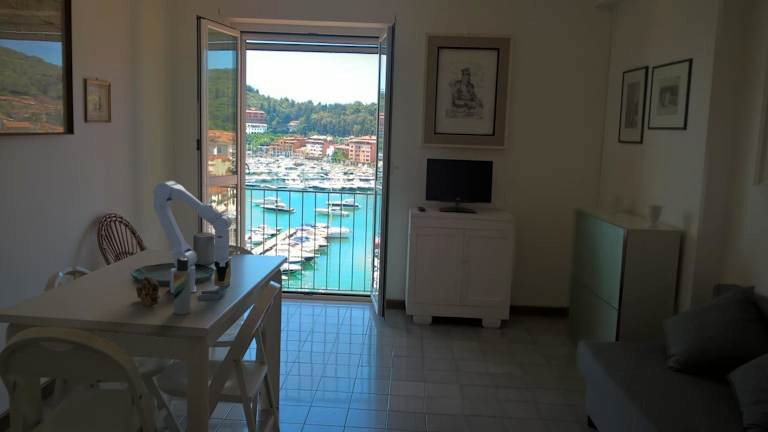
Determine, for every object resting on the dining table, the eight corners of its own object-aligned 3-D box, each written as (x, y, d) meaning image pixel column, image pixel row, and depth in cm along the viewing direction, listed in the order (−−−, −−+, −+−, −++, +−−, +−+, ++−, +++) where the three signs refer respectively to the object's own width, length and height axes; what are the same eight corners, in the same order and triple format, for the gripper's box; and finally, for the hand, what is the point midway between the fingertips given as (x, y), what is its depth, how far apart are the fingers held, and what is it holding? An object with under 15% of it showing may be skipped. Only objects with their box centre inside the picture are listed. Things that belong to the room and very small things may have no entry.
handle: (228, 286, 252) (229, 251, 250) (215, 284, 254) (216, 249, 252) (235, 284, 257) (236, 249, 254) (222, 282, 259) (223, 247, 257)
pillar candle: (193, 260, 294) (193, 229, 292) (214, 259, 297) (214, 229, 294) (193, 265, 285) (193, 233, 282) (214, 264, 288) (215, 233, 285)
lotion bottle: (184, 309, 220) (185, 254, 217) (193, 312, 217) (194, 257, 214) (170, 312, 216) (170, 257, 213) (179, 316, 213) (179, 260, 210)
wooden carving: (131, 300, 227) (131, 274, 226) (143, 298, 230) (143, 272, 229) (152, 311, 216) (152, 284, 215) (164, 309, 219) (164, 282, 218)
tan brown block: (214, 286, 241) (214, 271, 240) (214, 284, 244) (214, 269, 243) (227, 285, 242) (227, 271, 242) (226, 283, 245) (227, 269, 244)
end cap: (199, 299, 232) (199, 294, 232) (199, 295, 237) (199, 290, 237) (220, 299, 235) (220, 294, 234) (219, 295, 240) (219, 290, 239)
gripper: (233, 250, 235) (232, 284, 237) (231, 242, 249) (230, 275, 251) (214, 250, 233) (213, 284, 235) (213, 242, 247) (212, 275, 249)
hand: (221, 279), depth 243 cm, fingers closed on tan brown block, 3 cm apart
